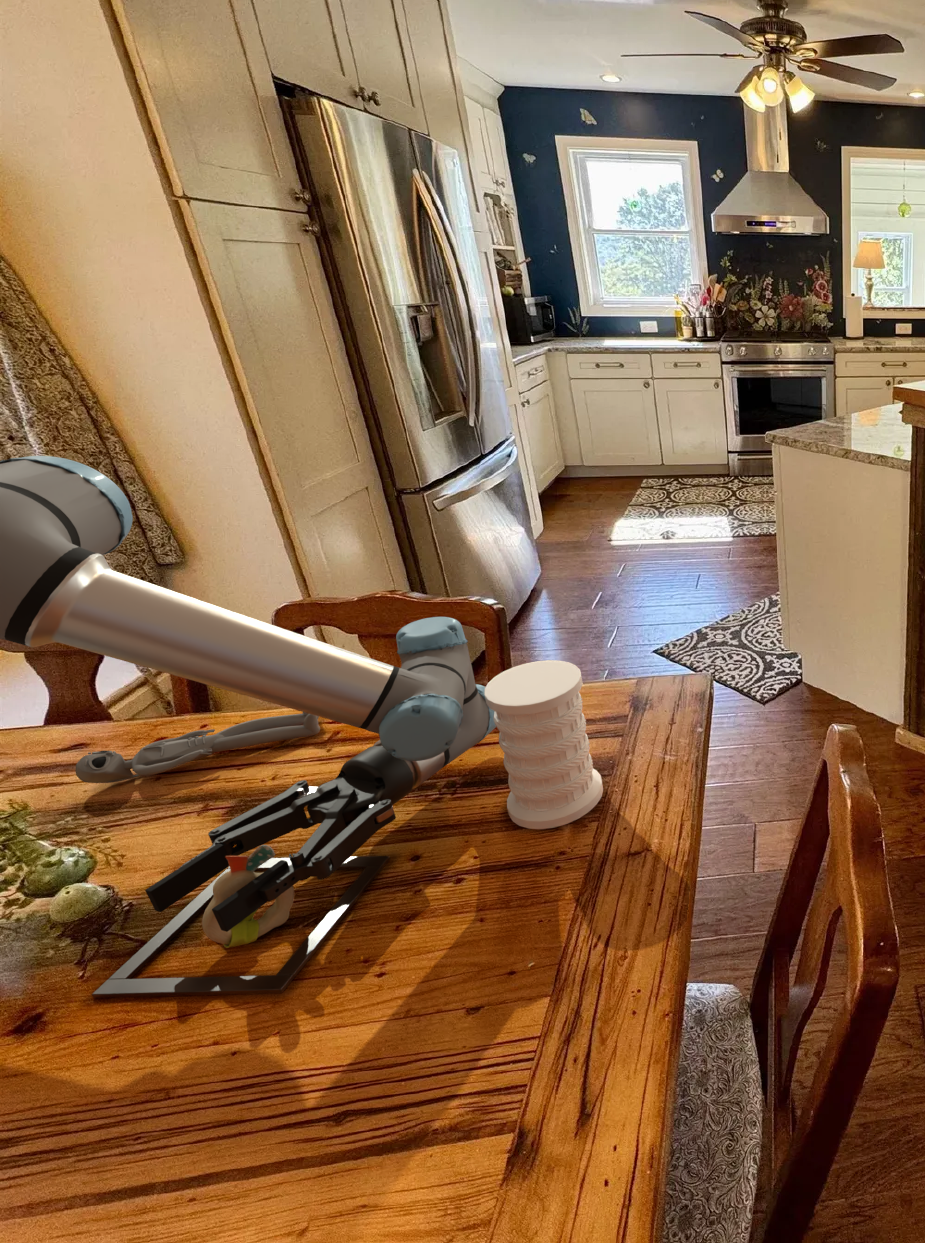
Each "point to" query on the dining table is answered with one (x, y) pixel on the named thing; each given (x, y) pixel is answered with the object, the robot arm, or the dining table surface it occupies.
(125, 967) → the spot frame
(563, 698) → the decorative container
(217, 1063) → the dining table surface
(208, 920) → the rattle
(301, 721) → the alien figure
